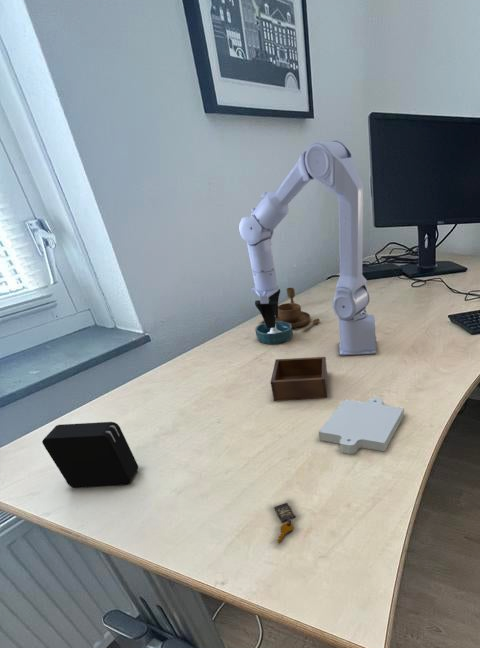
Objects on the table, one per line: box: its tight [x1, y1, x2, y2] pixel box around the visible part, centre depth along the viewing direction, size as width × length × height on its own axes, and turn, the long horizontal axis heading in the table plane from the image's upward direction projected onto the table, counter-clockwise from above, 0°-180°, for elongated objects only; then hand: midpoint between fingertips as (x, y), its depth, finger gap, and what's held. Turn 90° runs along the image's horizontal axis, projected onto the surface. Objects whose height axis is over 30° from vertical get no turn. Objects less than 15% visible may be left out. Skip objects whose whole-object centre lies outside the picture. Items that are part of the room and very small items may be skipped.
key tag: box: [273, 502, 296, 544], centre depth 65 cm, size 8×3×1 cm, turn 15°
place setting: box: [260, 287, 320, 331], centre depth 133 cm, size 18×20×6 cm
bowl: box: [254, 321, 294, 345], centre depth 122 cm, size 10×10×3 cm
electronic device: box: [41, 421, 139, 489], centre depth 71 cm, size 4×10×10 cm, turn 95°
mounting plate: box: [318, 397, 405, 455], centre depth 85 cm, size 18×13×2 cm
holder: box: [270, 356, 328, 402], centre depth 98 cm, size 12×12×4 cm
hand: (272, 322), depth 120 cm, fingers open, 7 cm apart
